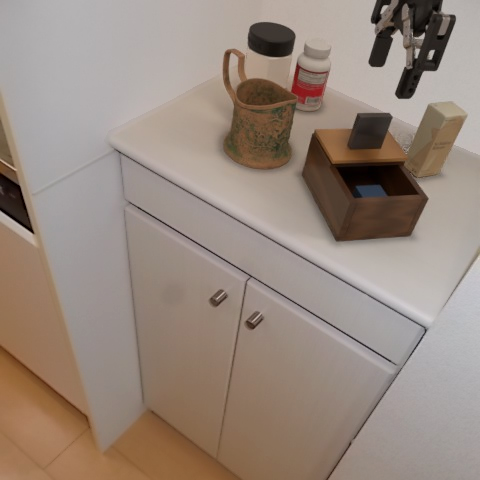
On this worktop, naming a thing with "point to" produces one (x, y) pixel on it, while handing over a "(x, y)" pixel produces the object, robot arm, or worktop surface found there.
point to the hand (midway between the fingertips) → (388, 81)
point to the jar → (269, 52)
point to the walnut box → (363, 209)
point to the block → (368, 191)
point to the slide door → (362, 141)
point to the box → (434, 138)
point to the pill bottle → (311, 74)
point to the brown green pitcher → (258, 119)
